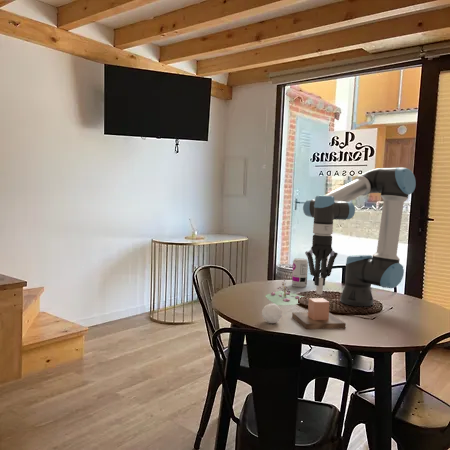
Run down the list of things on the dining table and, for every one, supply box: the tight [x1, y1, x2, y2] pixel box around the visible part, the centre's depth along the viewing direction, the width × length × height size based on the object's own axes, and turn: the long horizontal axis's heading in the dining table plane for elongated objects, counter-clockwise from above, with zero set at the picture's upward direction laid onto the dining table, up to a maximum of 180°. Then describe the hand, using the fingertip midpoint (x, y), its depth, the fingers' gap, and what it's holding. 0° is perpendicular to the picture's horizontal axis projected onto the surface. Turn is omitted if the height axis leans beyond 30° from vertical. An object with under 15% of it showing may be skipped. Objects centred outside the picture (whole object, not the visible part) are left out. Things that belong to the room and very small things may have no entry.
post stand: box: [291, 311, 347, 330], centre depth 178 cm, size 16×16×8 cm
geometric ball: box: [261, 303, 283, 324], centre depth 175 cm, size 8×8×8 cm
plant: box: [265, 280, 305, 306], centre depth 215 cm, size 25×21×9 cm
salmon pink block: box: [307, 297, 330, 320], centre depth 178 cm, size 6×6×7 cm
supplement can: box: [291, 257, 309, 288], centre depth 247 cm, size 8×8×15 cm
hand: (319, 293), depth 177 cm, fingers closed
